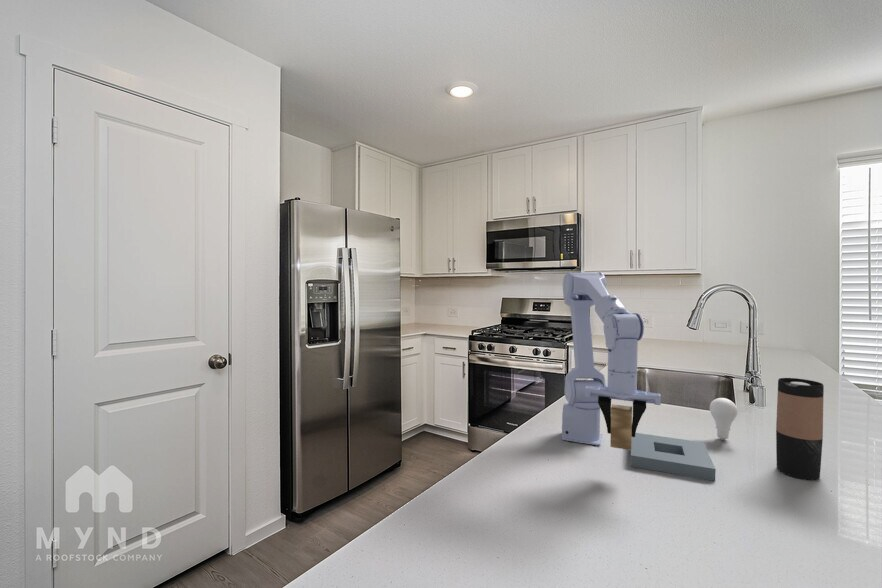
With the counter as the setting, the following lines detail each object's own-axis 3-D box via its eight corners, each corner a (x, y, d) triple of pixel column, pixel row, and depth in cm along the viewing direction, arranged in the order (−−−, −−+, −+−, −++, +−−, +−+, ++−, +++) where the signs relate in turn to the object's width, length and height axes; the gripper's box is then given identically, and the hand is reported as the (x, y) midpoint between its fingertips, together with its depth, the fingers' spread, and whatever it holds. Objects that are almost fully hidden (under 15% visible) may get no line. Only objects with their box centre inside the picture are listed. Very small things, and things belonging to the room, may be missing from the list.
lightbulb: (741, 445, 106) (742, 402, 105) (714, 443, 107) (715, 400, 107) (730, 436, 112) (731, 395, 111) (704, 434, 113) (705, 394, 113)
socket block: (630, 466, 93) (631, 455, 93) (630, 441, 107) (631, 432, 107) (715, 480, 86) (715, 469, 86) (703, 452, 101) (703, 442, 101)
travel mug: (810, 468, 92) (813, 379, 92) (829, 483, 85) (832, 387, 85) (769, 463, 95) (771, 376, 94) (784, 478, 88) (786, 384, 87)
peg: (610, 446, 87) (611, 409, 87) (611, 440, 91) (611, 404, 91) (631, 450, 86) (632, 411, 85) (631, 443, 89) (632, 406, 89)
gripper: (584, 370, 87) (583, 434, 88) (662, 377, 81) (660, 446, 81) (587, 364, 94) (586, 424, 94) (660, 370, 87) (658, 434, 88)
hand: (621, 433), depth 88 cm, fingers closed on peg, 4 cm apart
